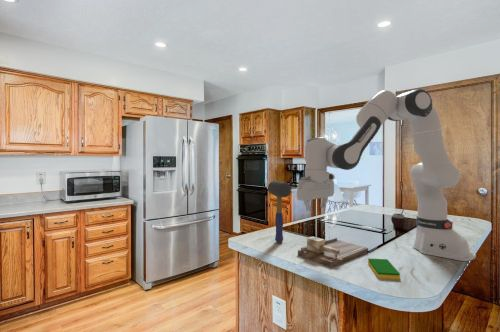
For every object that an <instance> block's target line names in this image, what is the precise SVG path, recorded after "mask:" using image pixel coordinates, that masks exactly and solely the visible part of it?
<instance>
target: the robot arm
mask: <svg viewBox="0 0 500 332" xmlns="http://www.w3.org/2000/svg"><path fill="white" fill-rule="evenodd" d="M355 117H356V124H357V125H358V127H359V129H358V130H357V131H356V132H355V134H354V135H353V136H352V138H351V139H350V140H349V141H347V142H344V143H343V144H342V143H341V144H336V143H333V142H331V141H329V140H327V138H325V137H324V136H319V137H314V138H310V139H308V140H307V141H306V142H305V146H304V147H305V149H304V161H305V167H304V176H302V177H300V179H299V180H298V183H297V189H296V198H297V200H298V201H302V202H303V204H304V206H305V211H306V212H310V211H312V206H311V205H310V202H311V200H318V199H321V203H320V208H322V209H325V208H327V203H328V200H329V199H328V198H331V197H334V194H335V182H334V180H335V175H334V174H333V173H330V172H328V169H327V168H328V167H329V168H334V169H340V170H344V171H350V170H352V169H354V168H356V166H358V165H359V164H360V160H361V159H362V156H363V153H364V151H365V149H366V148H367V147H368V146H369V145H370V143H371V142H372V141H373V139H374V138H375V137H376V135H377V133H379V130H380V129H381V127H382V126H383V124H384V123H386V121H387V120H388V121H391V122H398V121H399V122H400V121H402V120H408V121H409V123H410V124H411V125H410V126H411V127H410V128H411V135H412V141H413V148H414V152H415V153H416V154H417V156H418V157H419V159H420V162H419V163H416V164H414V165H413V166H411V168H410V170H409V177H410V179H411V181H412V182H413V185H414V189H415V190H414V191H415V193H416V194H415V195H416V198H417V216H416V219H415V228H416V232H415V238H414V242H413V245H412V247H413V248H414V249H415V250H417V251H418V252H420V253H421V254H425V255H428V256H429V255H430V256H435V257H439V258H445V259H448V260H449V259H451V260H456V261H460V262H470V261H473V260H475V259H476V258H477V254H476V252H474V251H472V250H470V245H469V243H468V240H467V239H466V238H465V237H464V236H462V235H461V234H460V233H459V232H457V231H456V230H454V229H453V224H454V221H451V220H449V219H448V201H447V199H446V197H445V196H444V193H443V191H442V189H448V188H452V187H454V186H456V185H457V184H458V183H459V181H460V179H461V173H460V170H459V169H458V168H457V167H456V166H455V165H454V164H453V162H452V161H451V159H450V157H449V154H448V153H447V150H446V148H445V147H446V146H445V143H444V137H443V131H442V130H443V129H442V124H441V121H440V116H439V113H438V111H437V110H436V108H435V107H434V106H433V99H432V97H431V95H430V93H429V91H427V90H426V89H420V88H419V89H412V90H411V91H407V92H403V93H401V94H399V95H396V94H395V93H394V92H392V91H390V90H381V91H379V92H377V94H375V95H374V96H372V98H370V99H369V100H368V101H367V102H366V103H365V104H364V105H363V106H362V107H361V108H360V110H359V112H358V113H357V115H356V116H355Z"/></svg>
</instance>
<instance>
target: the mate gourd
mask: <svg viewBox="0 0 500 332" xmlns="http://www.w3.org/2000/svg"><path fill="white" fill-rule="evenodd" d="M409 204H410V202H409V203H406V204H405V205H404V206H403V207H402V208H403V209H402V211H401V213H392V215H391V217H390V218H391V219H390V220H391V223H392V225H393V226H392V228H393V229H395V230H397V229H399V230H402V231H403V230H404V225H405V223H406V218H405V215H404V210H405V209H406V207H407V206H408V205H409Z"/></svg>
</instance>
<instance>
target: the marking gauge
mask: <svg viewBox="0 0 500 332" xmlns="http://www.w3.org/2000/svg"><path fill="white" fill-rule="evenodd" d="M306 246H307V250H309V251H312V252H315V253H318V254H319V253H322V252H324V251H326V252H330V253H333V254H335V257H337V255H338V254H340V250H338V249H335V248H331V247H328V246H325V239H324V238H320V237H316V236H310V237H307V238H306Z"/></svg>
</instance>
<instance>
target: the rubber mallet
mask: <svg viewBox="0 0 500 332" xmlns="http://www.w3.org/2000/svg"><path fill="white" fill-rule="evenodd" d="M267 190H268V192H269V194H271V195H272V196H275V197H276V213H275V218H274V219H275V221H274V222H275V225H274V226H275V237H274V239H275V242H276V244H282V243H283V242H284V236H283V235H284V234H283V233H284V231H283V227H284V218H283V217H284V216H283V201H282V200H283V198H288V196H290V194H291V192H292V187H291V185H290V184H289V183H287V182H284V181H281V180H272V181H270V182H269V183H268V185H267Z"/></svg>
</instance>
